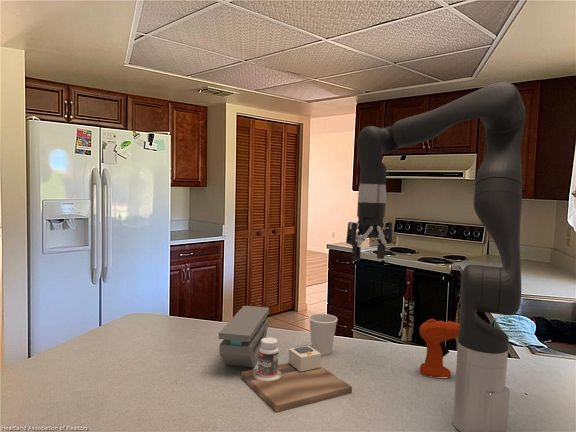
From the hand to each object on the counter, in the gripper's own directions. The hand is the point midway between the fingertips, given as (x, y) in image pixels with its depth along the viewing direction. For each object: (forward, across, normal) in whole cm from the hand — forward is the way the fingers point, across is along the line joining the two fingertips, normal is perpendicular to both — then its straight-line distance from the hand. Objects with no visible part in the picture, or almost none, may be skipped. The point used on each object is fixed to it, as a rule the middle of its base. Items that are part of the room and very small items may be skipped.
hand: (368, 259), depth 121 cm
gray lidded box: (+28, +30, -14) cm, 44 cm away
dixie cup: (+28, +8, -9) cm, 31 cm away
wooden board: (+28, +26, +6) cm, 39 cm away
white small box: (+26, +20, 0) cm, 33 cm away
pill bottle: (+27, +31, +1) cm, 41 cm away
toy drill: (+28, -14, +19) cm, 37 cm away
